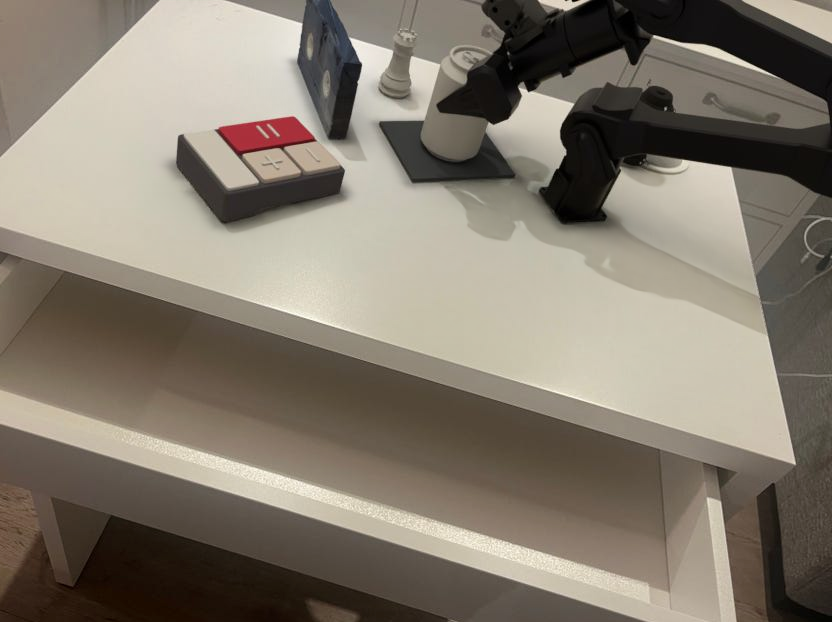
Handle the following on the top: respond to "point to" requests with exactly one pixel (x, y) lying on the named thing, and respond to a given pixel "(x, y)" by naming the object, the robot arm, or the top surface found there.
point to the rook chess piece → (399, 66)
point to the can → (450, 131)
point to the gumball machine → (656, 100)
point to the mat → (435, 169)
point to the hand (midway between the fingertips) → (452, 92)
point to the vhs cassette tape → (328, 66)
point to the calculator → (257, 166)
